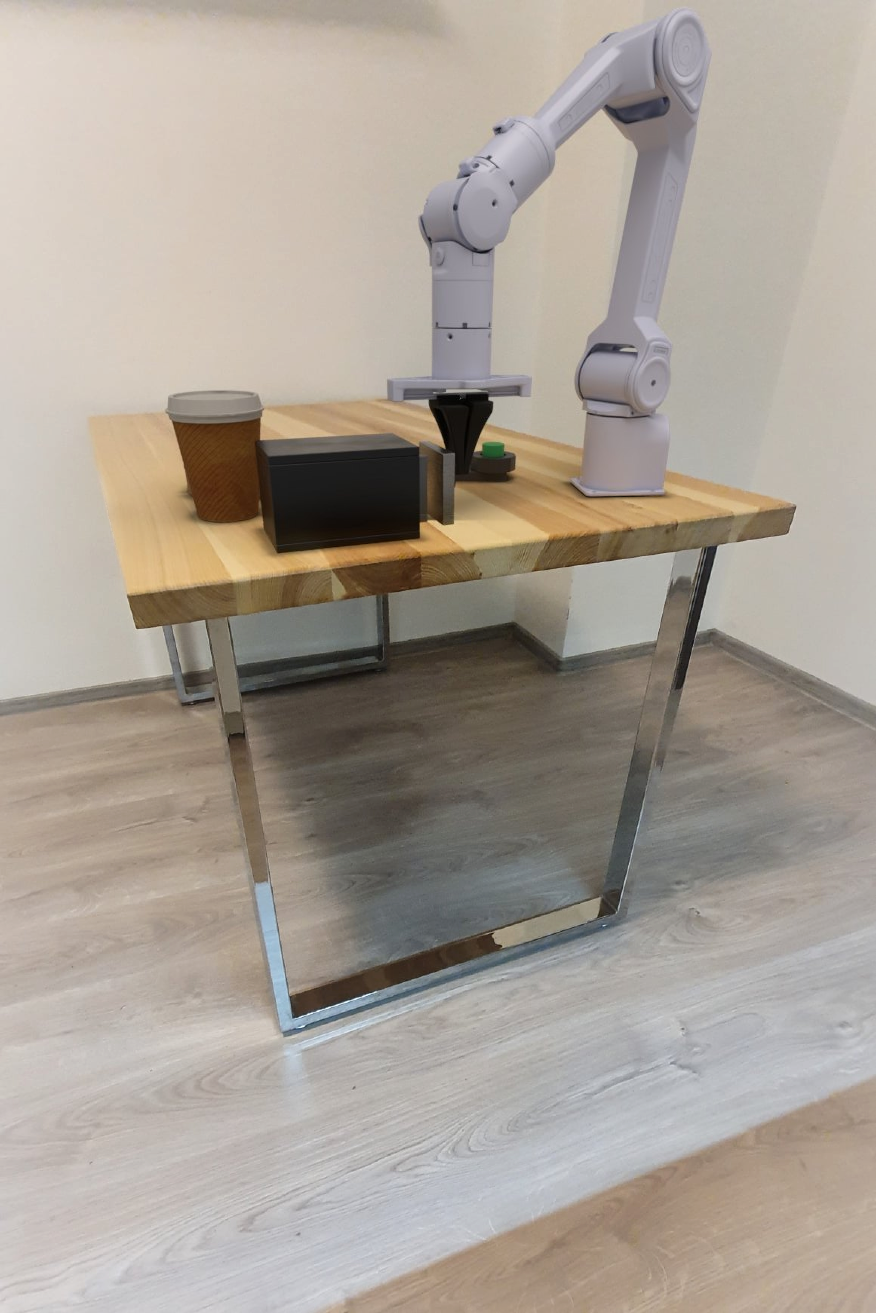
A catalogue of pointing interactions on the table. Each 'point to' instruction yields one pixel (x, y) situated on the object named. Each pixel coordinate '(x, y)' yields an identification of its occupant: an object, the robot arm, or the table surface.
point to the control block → (489, 467)
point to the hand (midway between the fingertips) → (459, 472)
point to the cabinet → (338, 491)
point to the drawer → (436, 483)
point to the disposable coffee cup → (219, 450)
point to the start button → (493, 449)
